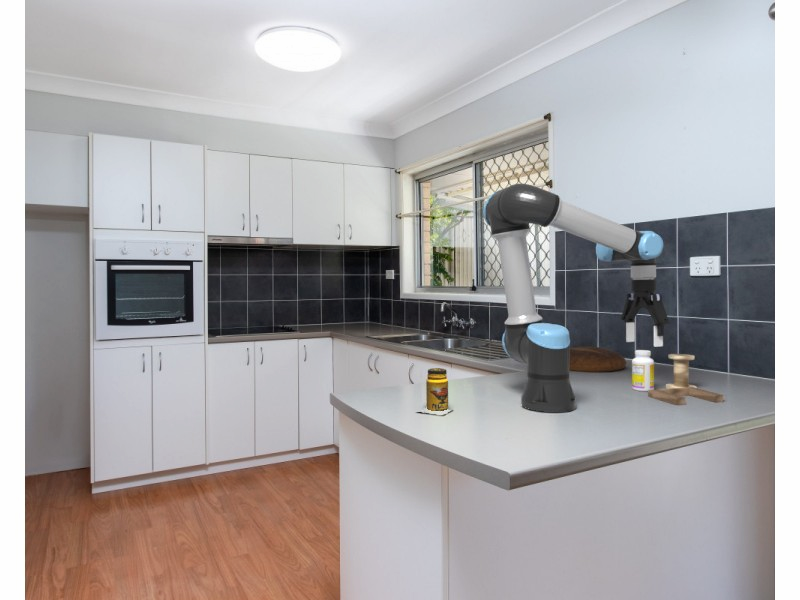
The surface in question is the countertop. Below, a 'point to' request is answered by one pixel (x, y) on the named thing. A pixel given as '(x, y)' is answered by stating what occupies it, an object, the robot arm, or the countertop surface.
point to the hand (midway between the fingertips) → (643, 344)
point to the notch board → (676, 395)
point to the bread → (595, 359)
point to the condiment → (437, 389)
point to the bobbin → (680, 371)
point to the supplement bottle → (642, 371)
